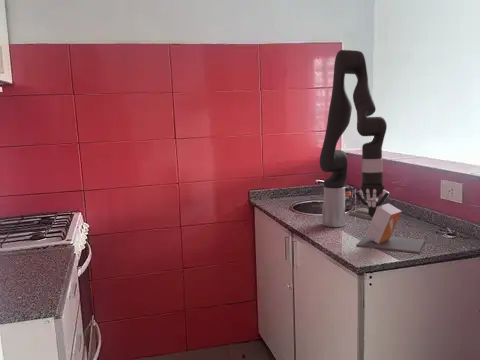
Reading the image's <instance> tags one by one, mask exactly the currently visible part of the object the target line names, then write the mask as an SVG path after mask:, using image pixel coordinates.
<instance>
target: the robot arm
mask: <svg viewBox="0 0 480 360" xmlns="http://www.w3.org/2000/svg"><path fill="white" fill-rule="evenodd" d="M364 54H365V53H363V52H362V51H360V50H353V49H352V50H350V49H340V50H338V51H337V53H336V56H335V59H334V64H333V66H334V67H333V78H332V89H331V96H330V103H329V109H328V114H327V123H326V129H325V130H326V131H325V135H324V140H323V143H322V148H321V150H320V155H319V167H320V170H321V171H322V172H324V173H331V175H329V177H326V178H325V180H324V181H323V203H322V207H321V208H322V209H321V211H322V212H321V213H322V215H321V217H322V218H321V220H322V221H321V222H322V226H325V227H329V228H341V227H344V226H346V210H345V187H346V182H347V179H348V157H347V156H348V155H347V154H346V152H345V151H344V150H342V149H337V144H338V142H339V140H340V138H341V137H342V136H343V134H344V132H345V131H346V130H347V128H348V127H349V125H350V123H351V116H352V110H353V106H352V101H351V100H350V99H351V98H350V96H349V95H348V92H347V90H346V86H345V79H346V78H345V76H346V75H355V76H356V79H357V82H356V85H355V87H354V90H353V93H352V100H353V105H354V107H355V110H356V111H355V112H356V130H357V133H358V134H359V136H361V137H373V138H372V140H371V141H368V142H365V143H363V144H362V146H361V147H362V149H361V151H362V152H361V153H362V154H361V158H362V159H361V160H362V161H361V185H360V189H359V190H357V191H355V195H356V197H357V198H358V200H359V201H360V202H361V203H362V205H364V206H366V207H368V208H367V209H368V214H369V215H370V217H373V216H374V214H375V211H376V209H377V207H378V206H381V205H383V203H384V202H385V201H386V199H388V197H389V196H390V194H391V193H390V192H389V191H387V190H386V189H385V186H384V181H383V180H384V176H383V175H384V173H383V172H384V166H383V165H384V164H383V144H384V139H385V135H386V133H387V126H388V125H387V122H386V120H385V118H384V117H383V116H372V115H374V114H375V112H376V109H377V107H376V104H375V102H374V99H373V94H372V92H371V88H370V82H369V73H368V67H367V62H366V61H367V60H366V57H365V55H364ZM336 149H337V150H336ZM380 196H382V197H381V198H380V199H379V197H380ZM365 197H366V198H365Z"/></svg>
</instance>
